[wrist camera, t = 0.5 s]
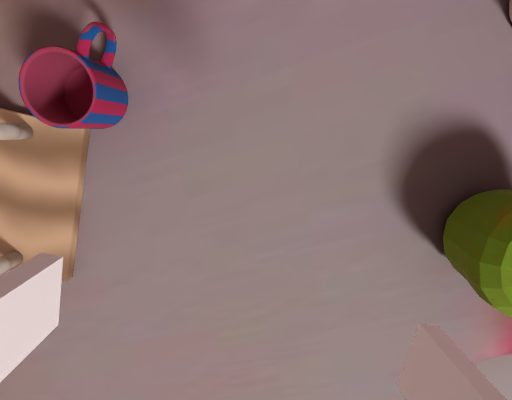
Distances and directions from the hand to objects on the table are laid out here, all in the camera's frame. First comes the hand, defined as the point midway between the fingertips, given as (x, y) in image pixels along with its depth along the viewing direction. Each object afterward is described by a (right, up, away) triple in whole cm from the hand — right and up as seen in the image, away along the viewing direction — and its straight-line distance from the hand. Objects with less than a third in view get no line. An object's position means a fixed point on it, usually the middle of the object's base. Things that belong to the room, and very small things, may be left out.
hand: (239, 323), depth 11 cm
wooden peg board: (-27, +6, +24) cm, 37 cm away
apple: (+27, +1, +26) cm, 37 cm away
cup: (-15, +17, +22) cm, 32 cm away
